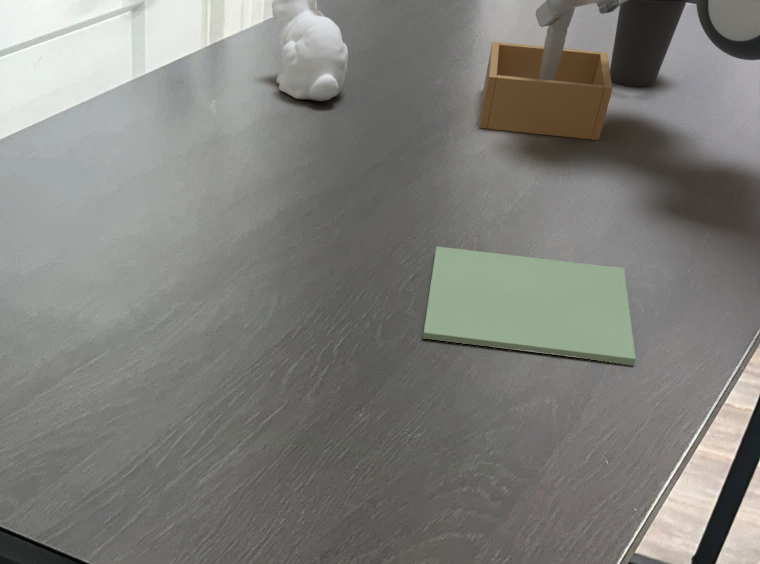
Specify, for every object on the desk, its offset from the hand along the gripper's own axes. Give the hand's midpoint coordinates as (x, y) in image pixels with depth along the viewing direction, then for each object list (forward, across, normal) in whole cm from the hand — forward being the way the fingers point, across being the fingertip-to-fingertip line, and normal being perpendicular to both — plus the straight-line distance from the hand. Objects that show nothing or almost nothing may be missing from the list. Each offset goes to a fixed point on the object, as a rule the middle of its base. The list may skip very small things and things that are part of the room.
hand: (572, 12), depth 113 cm
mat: (-14, -36, -28) cm, 47 cm away
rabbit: (+23, -16, +8) cm, 29 cm away
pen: (+8, 0, -6) cm, 10 cm away
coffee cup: (+10, +19, -5) cm, 22 cm away
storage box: (+8, 0, -6) cm, 10 cm away
